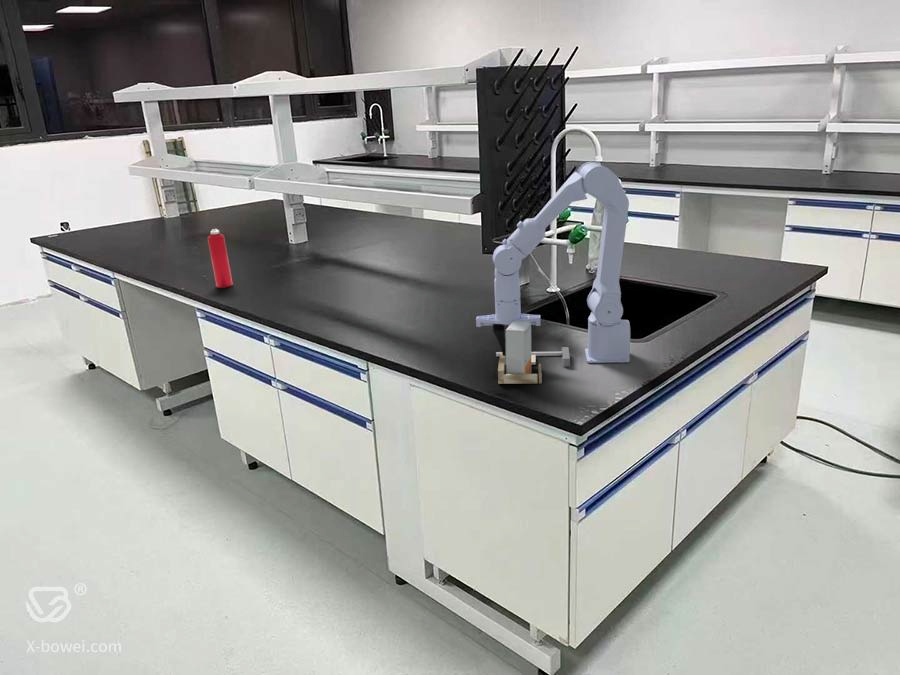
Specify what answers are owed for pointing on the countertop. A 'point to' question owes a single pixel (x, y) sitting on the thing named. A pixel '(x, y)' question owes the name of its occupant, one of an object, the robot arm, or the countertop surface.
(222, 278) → the bottle
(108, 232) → the countertop surface
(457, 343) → the countertop surface
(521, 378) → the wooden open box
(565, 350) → the rail
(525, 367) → the skincare box
